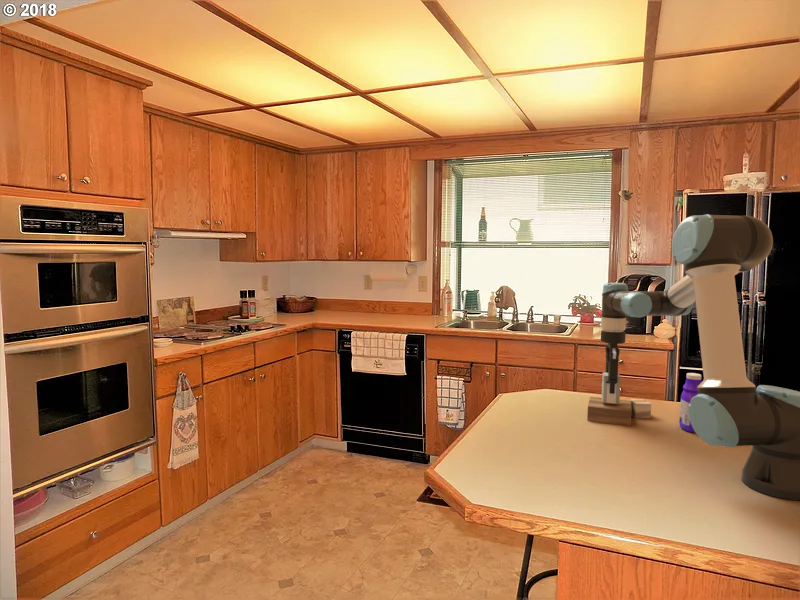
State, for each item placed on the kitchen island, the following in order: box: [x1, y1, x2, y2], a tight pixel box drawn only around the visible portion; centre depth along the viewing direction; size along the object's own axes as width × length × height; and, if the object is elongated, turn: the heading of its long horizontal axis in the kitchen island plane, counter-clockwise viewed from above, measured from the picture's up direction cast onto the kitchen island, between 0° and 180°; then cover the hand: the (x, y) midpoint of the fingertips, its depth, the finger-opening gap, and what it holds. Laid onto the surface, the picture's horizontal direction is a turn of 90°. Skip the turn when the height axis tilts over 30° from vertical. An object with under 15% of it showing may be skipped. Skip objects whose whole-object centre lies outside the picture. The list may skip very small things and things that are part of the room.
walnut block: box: [587, 396, 632, 426], centre depth 182 cm, size 13×13×5 cm
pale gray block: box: [601, 372, 622, 404], centre depth 182 cm, size 5×5×9 cm
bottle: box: [678, 372, 702, 433], centre depth 170 cm, size 7×6×17 cm
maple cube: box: [629, 398, 652, 419], centre depth 184 cm, size 5×5×5 cm
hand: (610, 400), depth 182 cm, fingers closed on pale gray block, 5 cm apart
